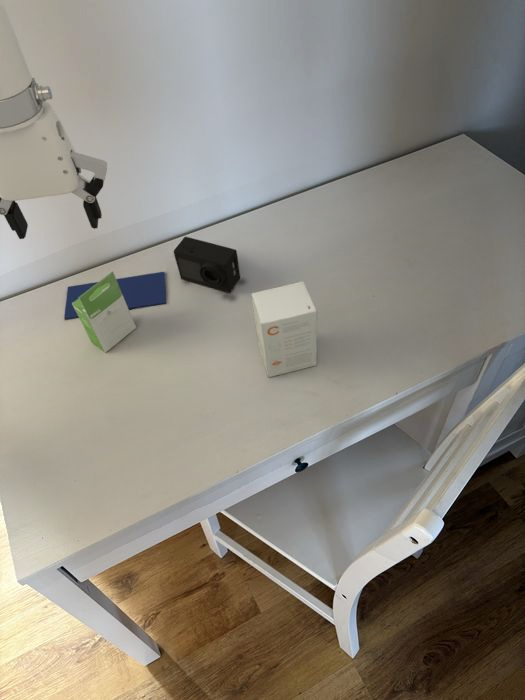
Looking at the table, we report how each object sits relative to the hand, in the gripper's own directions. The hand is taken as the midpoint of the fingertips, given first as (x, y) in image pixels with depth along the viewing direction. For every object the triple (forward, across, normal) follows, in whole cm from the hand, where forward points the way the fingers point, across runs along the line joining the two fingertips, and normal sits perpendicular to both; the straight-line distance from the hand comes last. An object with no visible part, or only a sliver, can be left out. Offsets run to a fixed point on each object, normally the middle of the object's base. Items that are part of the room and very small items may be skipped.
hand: (60, 227), depth 72 cm
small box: (+24, -29, +10) cm, 39 cm away
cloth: (+24, -1, -10) cm, 26 cm away
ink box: (+24, -1, -1) cm, 24 cm away
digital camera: (+24, -18, -10) cm, 31 cm away
